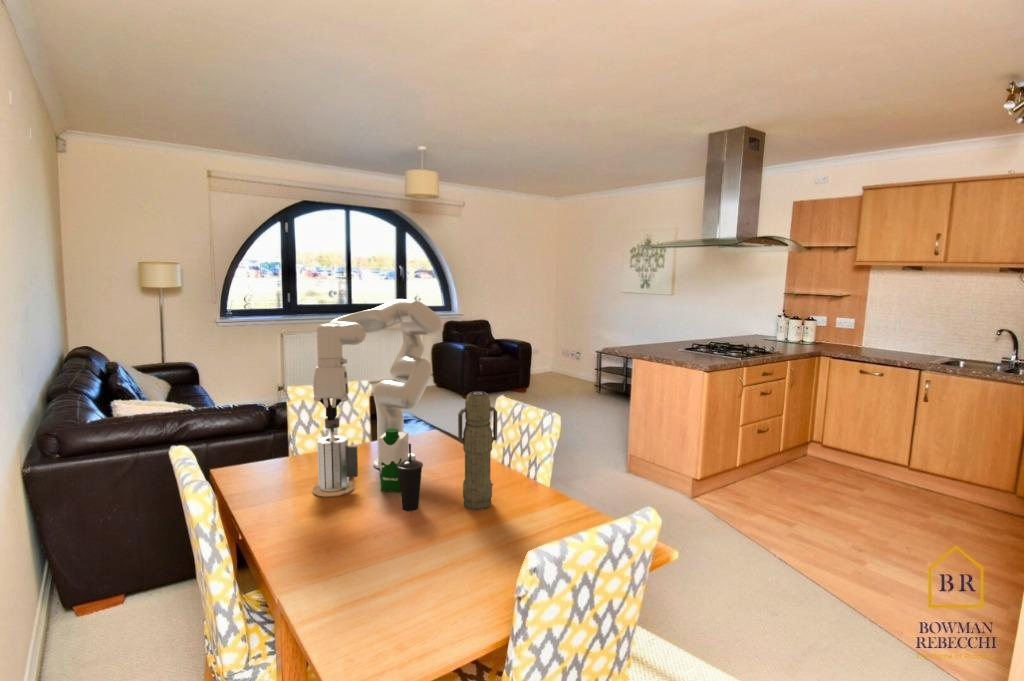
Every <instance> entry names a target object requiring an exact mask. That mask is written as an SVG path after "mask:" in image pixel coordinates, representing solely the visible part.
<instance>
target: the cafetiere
mask: <svg viewBox="0 0 1024 681" xmlns="http://www.w3.org/2000/svg"><path fill="white" fill-rule="evenodd" d="M334 437H335V441H333V442H331V435H327V436H323V437H320V438H318V439H317V441H316V444H317V448H316V450H317V473H318V474H317V476H318V477H317V478H318V483H317V484H315V485H314V486H313V488H312V494H313V495H315V494H316V495H318V496H317V497H319V496H322V497H321V498H337V497H341V496H345V495H348V494H350V493H352V492H353V491H354V490H355V488H356V485H355V483H354V482H353V481H352V480H350V478H349V477H351V478H358V476H359V469H358V468H359V465H358V462H359V461H358V445H349V438H348V437H347V436H345V435H340V434H339V435H338V434H337V435H336V434H334ZM316 495H315V496H316Z"/></svg>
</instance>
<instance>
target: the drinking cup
mask: <svg viewBox="0 0 1024 681" xmlns="http://www.w3.org/2000/svg"><path fill="white" fill-rule="evenodd" d="M408 454H409V460H405V461H403V462H400V463H398V464H397V468H398V473H399V482H400V491H401V492H400V501H401V509H402V511H404V512H415V511H417V510H418V509H419V507H420V506H419V505H420V495H421V494H420V493H421V482H422V472H423V471H422V470H423V467H424V466H423V465H424V464H423V463H424V462H422V461H420V460H416V459H415V460H411V454H412V444H411V443H408Z"/></svg>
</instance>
